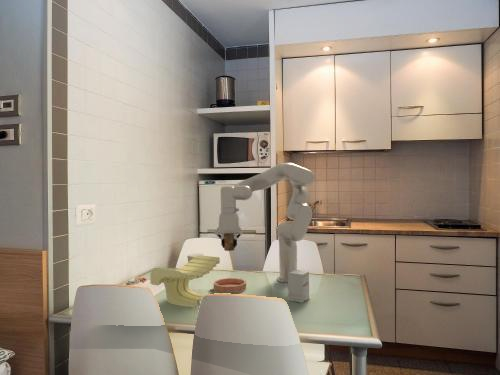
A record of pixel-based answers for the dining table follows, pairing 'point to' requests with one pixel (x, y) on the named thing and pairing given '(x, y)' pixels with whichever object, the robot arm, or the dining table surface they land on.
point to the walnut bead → (228, 242)
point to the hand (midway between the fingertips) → (229, 246)
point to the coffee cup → (193, 256)
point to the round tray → (230, 285)
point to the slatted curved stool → (183, 280)
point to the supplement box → (298, 286)
